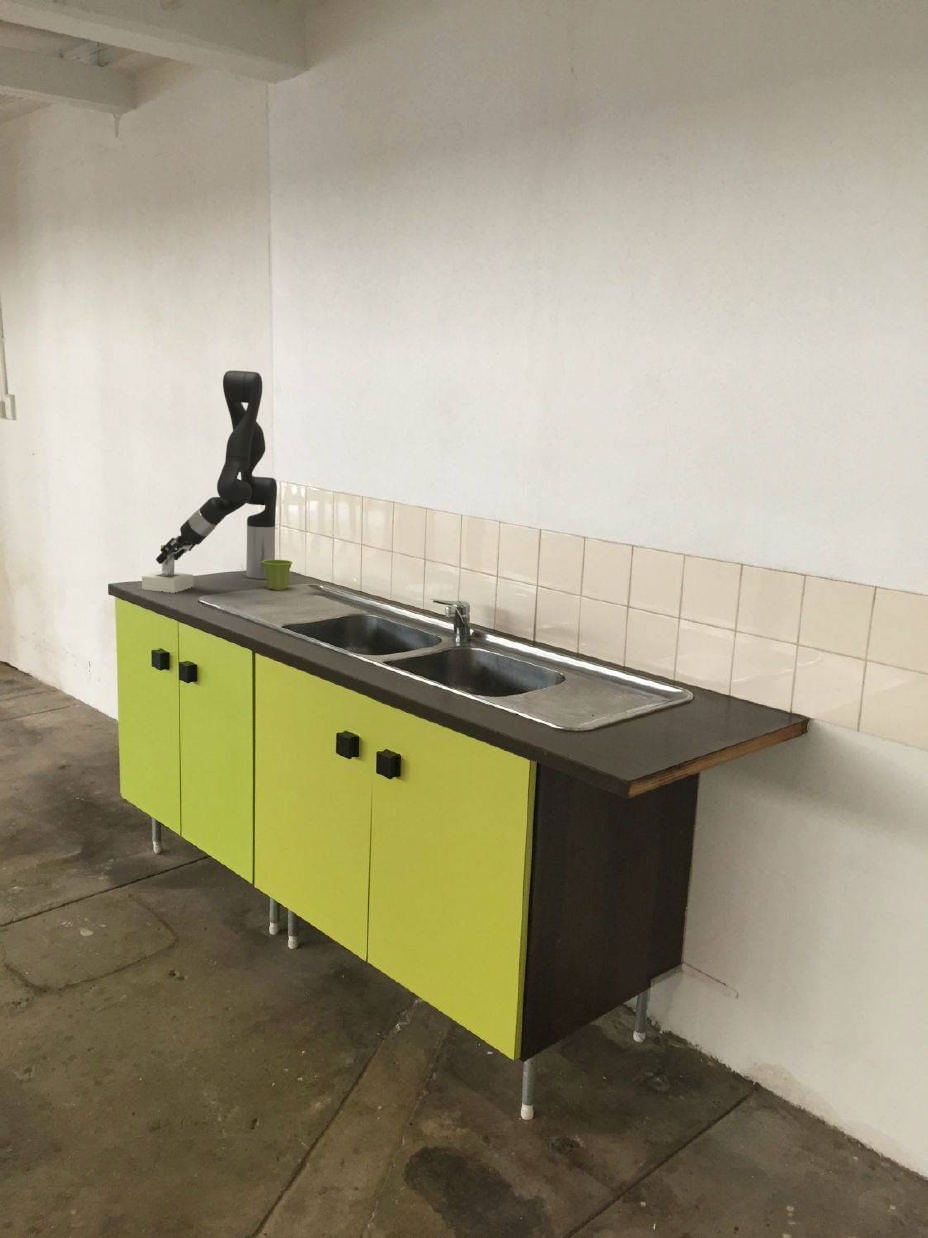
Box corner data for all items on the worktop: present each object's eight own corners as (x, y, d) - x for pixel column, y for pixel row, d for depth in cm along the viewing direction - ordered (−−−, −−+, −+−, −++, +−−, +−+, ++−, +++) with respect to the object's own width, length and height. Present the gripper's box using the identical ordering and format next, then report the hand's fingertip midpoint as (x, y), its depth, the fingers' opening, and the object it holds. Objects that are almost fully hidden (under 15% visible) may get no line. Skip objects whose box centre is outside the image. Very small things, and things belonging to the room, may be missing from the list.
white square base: (161, 583, 327) (161, 571, 326) (193, 587, 324) (193, 574, 323) (142, 589, 317) (141, 576, 316) (173, 593, 314) (173, 579, 313)
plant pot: (258, 586, 332) (258, 559, 330) (287, 585, 336) (287, 559, 334) (266, 591, 324) (266, 564, 322) (295, 591, 328) (296, 563, 326)
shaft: (165, 586, 323) (165, 544, 320) (178, 588, 322) (178, 545, 319) (158, 588, 319) (157, 546, 316) (170, 590, 318) (170, 547, 315)
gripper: (203, 514, 320) (171, 547, 326) (178, 518, 307) (145, 553, 312) (219, 533, 320) (186, 566, 325) (194, 538, 306) (160, 572, 312)
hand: (166, 559), depth 319 cm, fingers open, 8 cm apart
